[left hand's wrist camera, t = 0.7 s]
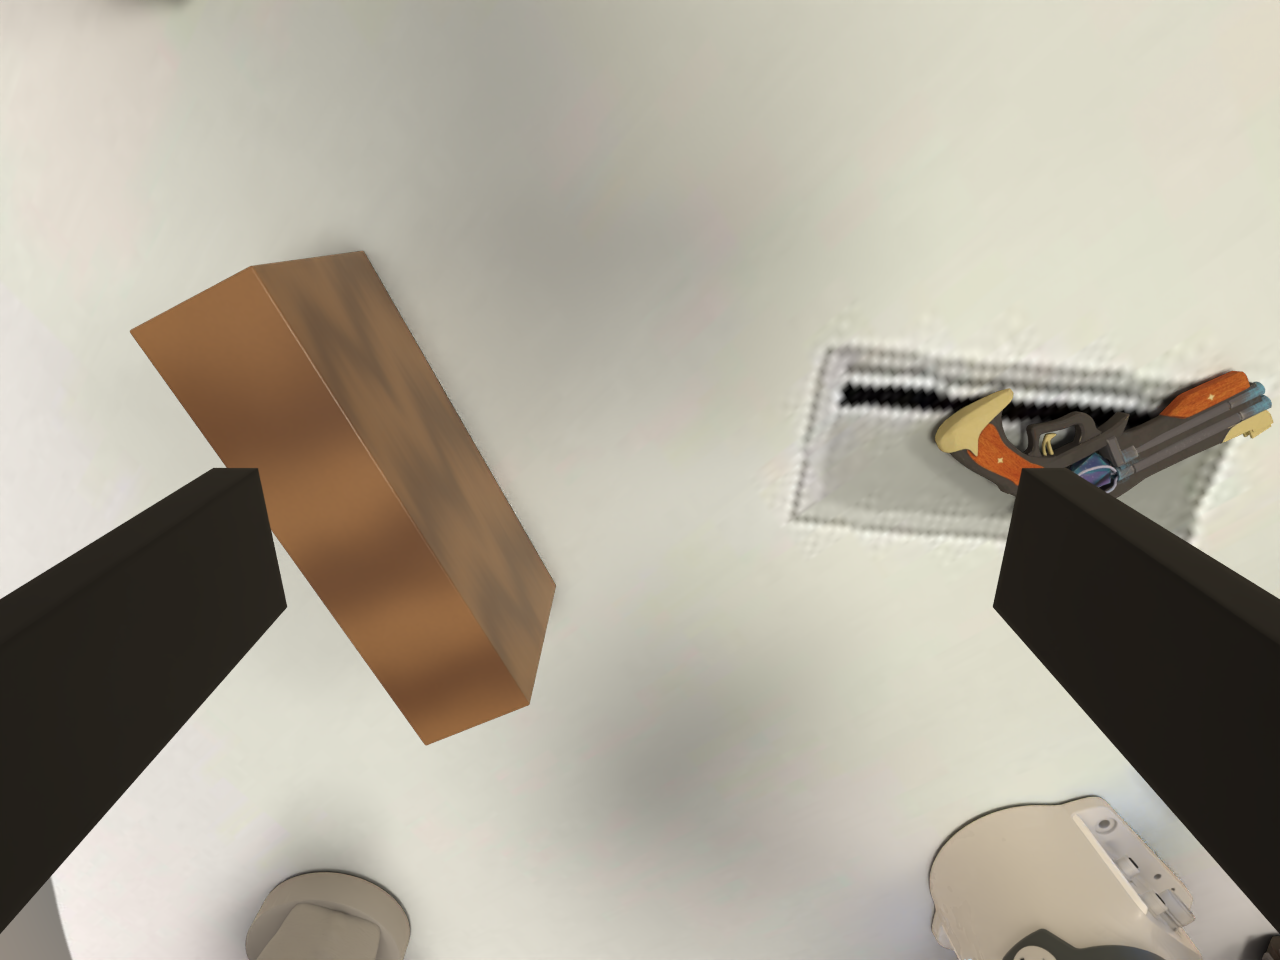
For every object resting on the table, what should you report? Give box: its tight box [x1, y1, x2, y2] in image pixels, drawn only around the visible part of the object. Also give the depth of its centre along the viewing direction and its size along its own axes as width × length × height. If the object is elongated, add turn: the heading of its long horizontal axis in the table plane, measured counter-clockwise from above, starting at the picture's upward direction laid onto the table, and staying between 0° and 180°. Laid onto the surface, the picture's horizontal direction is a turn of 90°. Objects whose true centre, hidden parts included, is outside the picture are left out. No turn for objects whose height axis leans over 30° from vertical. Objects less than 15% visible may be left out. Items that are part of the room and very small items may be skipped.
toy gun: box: [935, 371, 1273, 498], centre depth 44 cm, size 3×19×10 cm
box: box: [130, 251, 556, 745], centre depth 40 cm, size 25×6×13 cm, turn 25°
